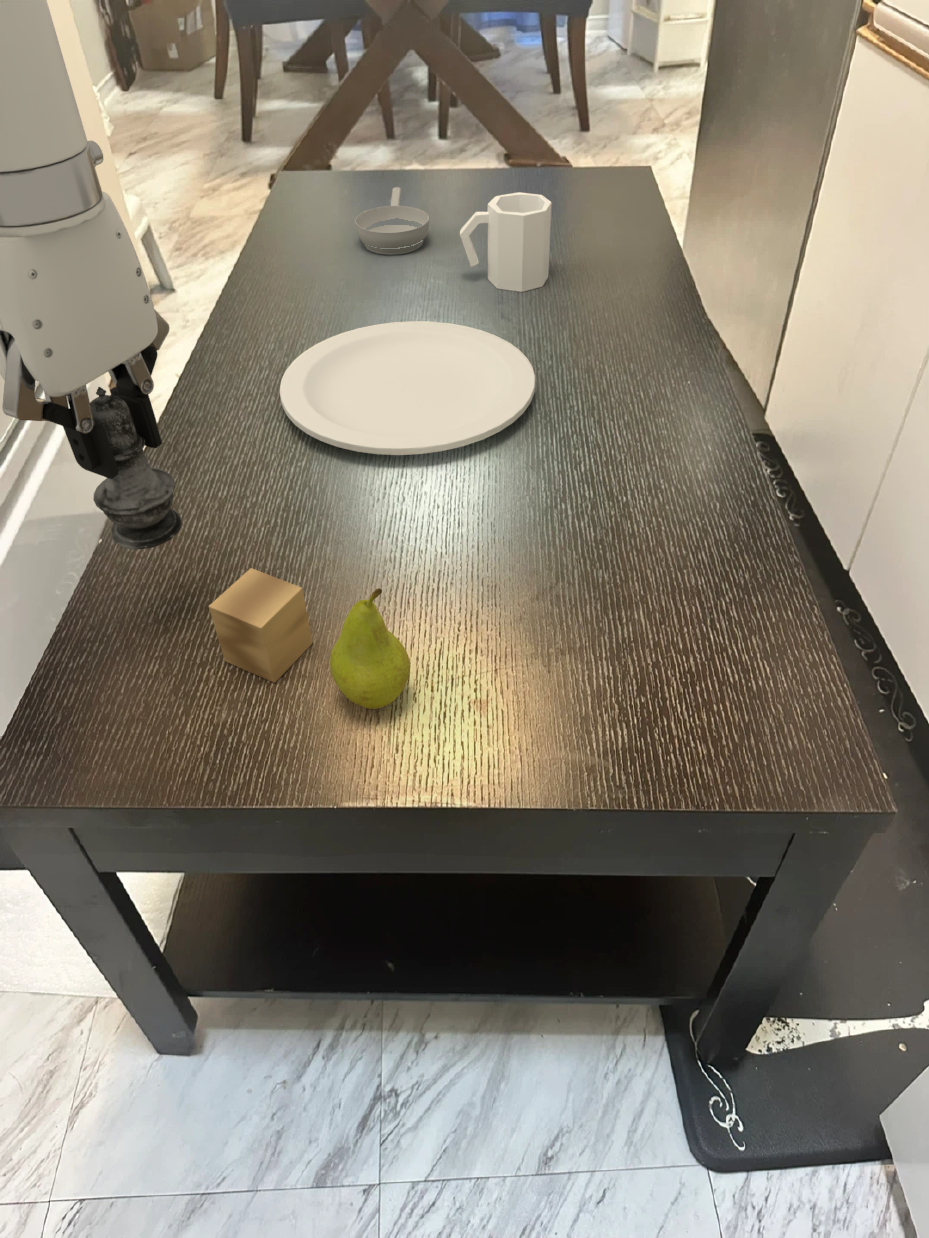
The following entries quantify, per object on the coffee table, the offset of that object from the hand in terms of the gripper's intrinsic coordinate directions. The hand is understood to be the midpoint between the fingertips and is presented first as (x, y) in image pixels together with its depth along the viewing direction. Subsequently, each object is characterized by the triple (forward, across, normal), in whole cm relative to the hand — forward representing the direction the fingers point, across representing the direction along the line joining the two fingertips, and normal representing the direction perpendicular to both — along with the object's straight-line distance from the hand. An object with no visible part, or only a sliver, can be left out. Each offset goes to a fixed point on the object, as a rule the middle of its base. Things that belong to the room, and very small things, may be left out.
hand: (122, 454), depth 64 cm
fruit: (+16, 0, +20) cm, 25 cm away
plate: (+16, -39, -1) cm, 42 cm away
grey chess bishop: (+7, 0, 0) cm, 7 cm away
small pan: (+16, -79, -28) cm, 86 cm away
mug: (+16, -72, -6) cm, 74 cm away
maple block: (+16, 0, +10) cm, 18 cm away
